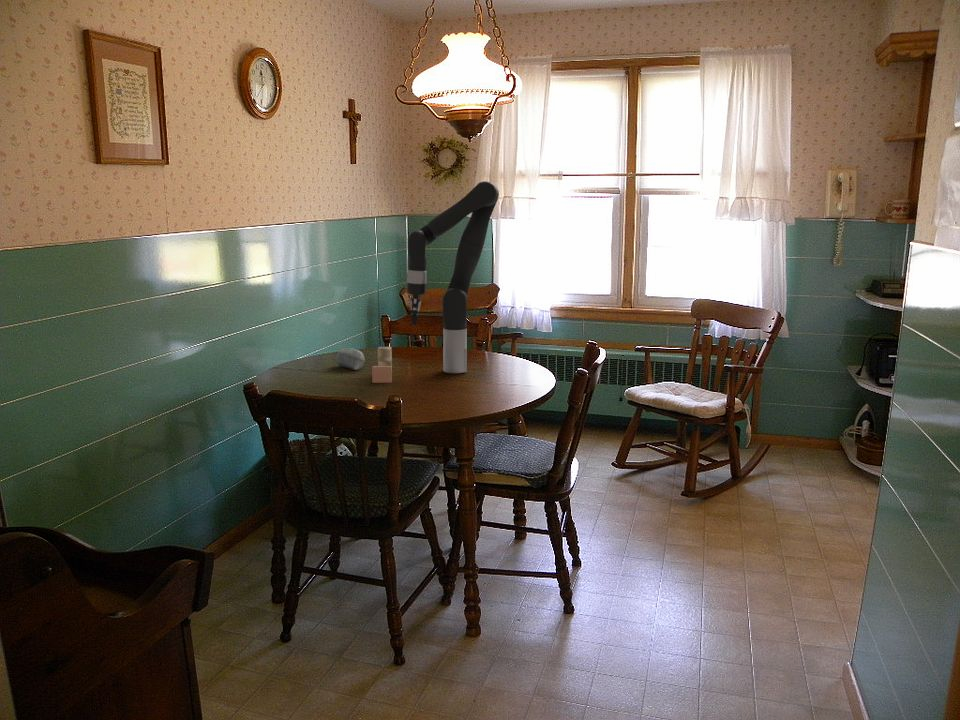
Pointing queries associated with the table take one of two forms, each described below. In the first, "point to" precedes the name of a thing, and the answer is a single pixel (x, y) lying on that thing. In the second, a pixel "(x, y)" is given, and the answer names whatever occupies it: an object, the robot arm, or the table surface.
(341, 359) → the grey rounded lump
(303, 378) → the table surface
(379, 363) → the keeper
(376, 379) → the block
